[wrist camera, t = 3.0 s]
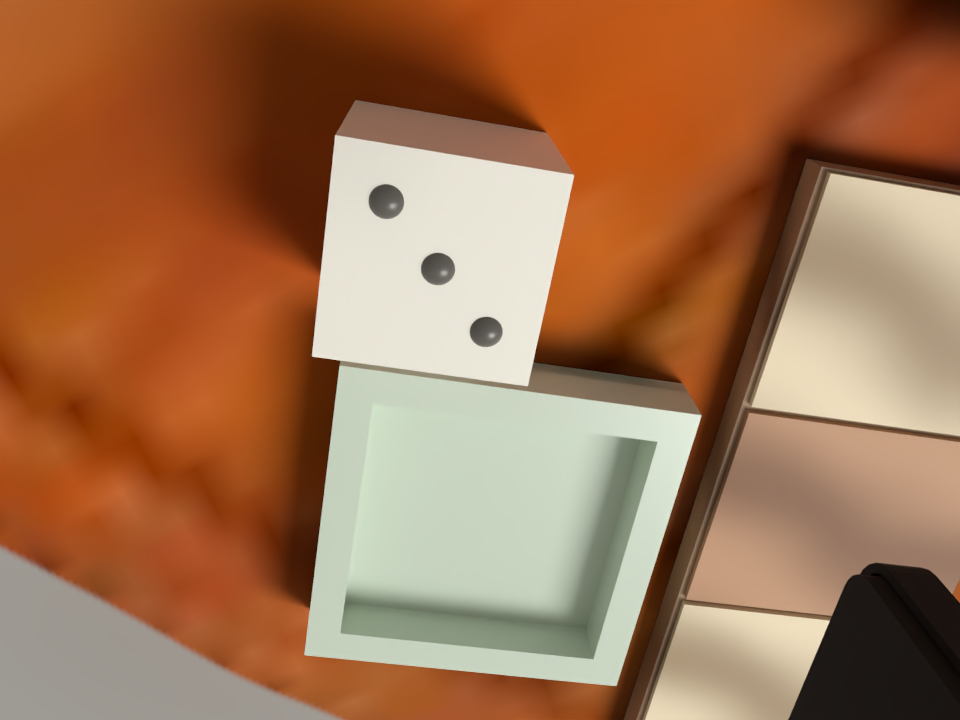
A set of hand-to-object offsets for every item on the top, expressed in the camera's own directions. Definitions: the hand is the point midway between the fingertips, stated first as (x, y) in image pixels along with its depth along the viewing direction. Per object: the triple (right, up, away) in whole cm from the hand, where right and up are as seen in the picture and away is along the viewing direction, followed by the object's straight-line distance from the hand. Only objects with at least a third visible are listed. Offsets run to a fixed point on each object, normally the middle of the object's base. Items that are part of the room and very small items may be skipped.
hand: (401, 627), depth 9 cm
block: (0, +7, +15) cm, 16 cm away
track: (+12, -2, +19) cm, 23 cm away
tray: (+1, -2, +18) cm, 19 cm away
